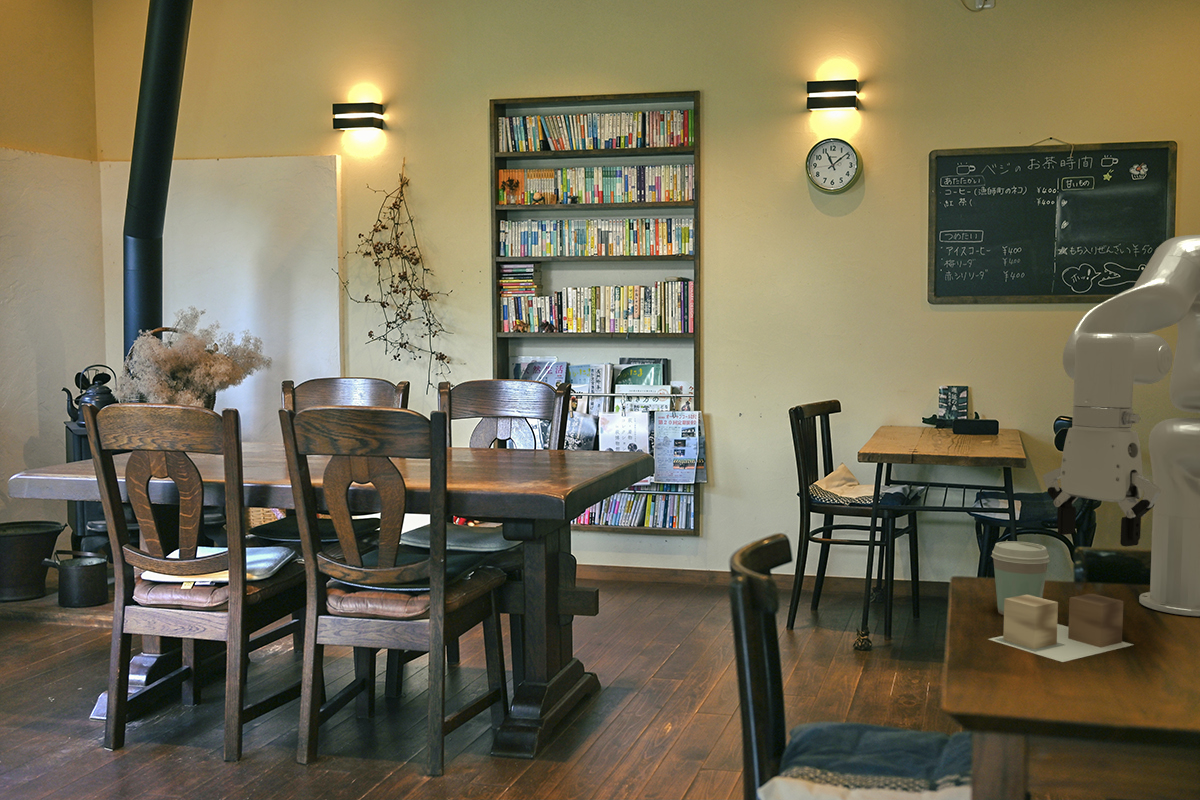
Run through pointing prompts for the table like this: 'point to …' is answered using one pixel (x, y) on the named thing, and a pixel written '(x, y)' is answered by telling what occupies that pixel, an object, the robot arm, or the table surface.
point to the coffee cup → (1019, 570)
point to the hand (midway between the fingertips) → (1096, 539)
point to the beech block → (1030, 621)
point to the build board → (1064, 647)
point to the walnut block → (1095, 620)
